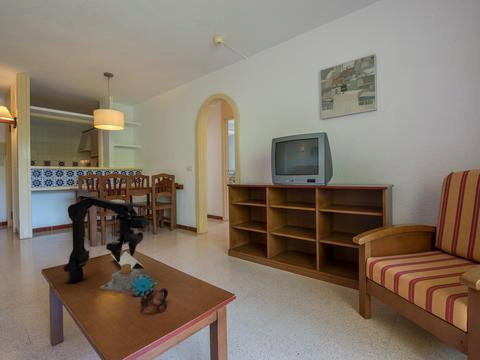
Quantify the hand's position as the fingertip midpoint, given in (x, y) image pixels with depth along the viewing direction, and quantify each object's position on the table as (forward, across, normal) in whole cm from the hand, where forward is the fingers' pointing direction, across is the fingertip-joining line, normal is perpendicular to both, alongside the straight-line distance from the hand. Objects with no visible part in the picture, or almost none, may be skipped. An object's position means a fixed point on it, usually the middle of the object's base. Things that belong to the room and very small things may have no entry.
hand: (125, 259), depth 122 cm
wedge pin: (+11, 0, -1) cm, 11 cm away
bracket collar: (+12, 0, -1) cm, 12 cm away
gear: (+12, -7, -16) cm, 21 cm away
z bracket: (+12, +21, +18) cm, 30 cm away
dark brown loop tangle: (+12, -16, -29) cm, 35 cm away
